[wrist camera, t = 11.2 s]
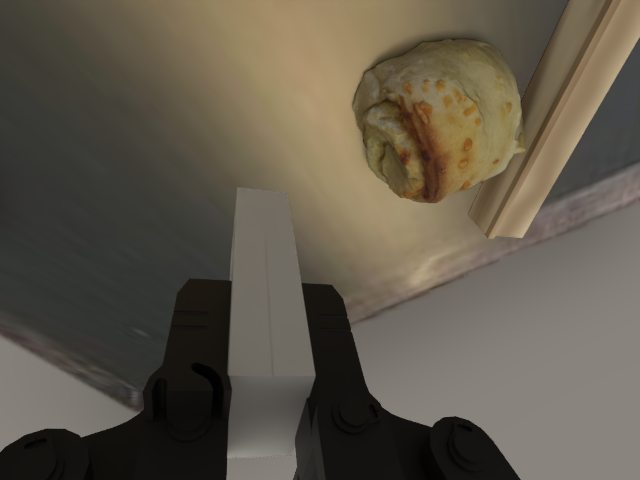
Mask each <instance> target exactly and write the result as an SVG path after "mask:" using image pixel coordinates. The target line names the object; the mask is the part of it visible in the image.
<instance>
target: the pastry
mask: <svg viewBox="0 0 640 480" xmlns="http://www.w3.org/2000/svg"><path fill="white" fill-rule="evenodd" d="M353 111H354V112H355V114H356V118H357V125H358V128H359V129H360V131H361V132H362V133H363V134H364V135H363V137H364V139H363V142H364V144H365V146H366V148H367V162H368V166H369V168H370V169H371V170H372V171H373V172H374V174H375V175H376V176H377V177H378V178H380V179H381V180H382V181H384V182H385V183H387V184H388V185H389V188H390V189H391V190H392V191H393V192H394V193H395V194H397V195H398V196H399V197H400V198H407V199H411V200H413V201H416V202H421V203H437V202H439V201H441V200H442V199H443V198H445V197H446V196H449V195H451V194H452V193H456V192H459V191H465V190H467V189H468V188H470V187H472V186H474V185H476V184H479V183H482V182H483V181H485V180H487V179H489V178H491V177H493V176H496V175H497V174H499V173H501V172H502V171H504V170H505V169H506V167H507V165H508V163H509V161H510V159H511V158H512V157H513V154H521V153H523V152H525V151H526V148H525V134H524V130H523V117H522V109H521V101H520V95H519V92H518V89H517V84H516V80H515V77H514V74H513V72H512V71H511V69H510V67H509V66H508V64H507V62H506V61H505V59H504V58H503V57H502V55H501V54H500V53H499V51H497V50H496V49H494V48H493V47H492V46H490V45H489V44H486V43H484V42H481V41H475V40H469V39H457V40H454V41H453V40H451V39H446V40H443V41H437V42H422V43H421V44H420V45H418V46H417V47H416V48H414V49H413V50H411V51H410V52H408V53H407V54H405V55H403V56H400V57H396V58H392V59H388V60H386V61H384V62H382V63H380V64H378V65H377V66H376V67H375V68H374V69H371V70H368V71H367V72H365V74H364V77H363V79H362V82H360V84H359V85H358V88H357V91H356V93H355V101H354V105H353Z"/></svg>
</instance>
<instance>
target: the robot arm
mask: <svg viewBox="0 0 640 480" xmlns="http://www.w3.org/2000/svg"><path fill="white" fill-rule="evenodd" d="M143 399H144V410H143V411H141V412H140V413H139V414H138V415H137V416H135V417H134V418H132V419H131V420H129V421H127V422H125V423H123V424H120V425H118V426H116V427H113V428H110V429H107V430H103V431H100V432H97V433H94V434H91V435H88V436H85V437H82V438H81V437H80V436H79V435H78V434H75V433H73V432H71V431H68V430H66V429H44V430H40V431H37V432H34V433H31V434H27V435H25V436H23V437H21V438H20V439H18V440H17V441H15V442H13V443H11V444H10V445H8V446H6V447H5V448H4V449H3V450H2V451H1V452H0V480H226V475H227V458H246V457H266V456H267V457H268V456H288V455H289V456H290V455H292V452H293V449H294V446H295V448H296V458H297V469H296V472H295V475H294V478H293V480H520V478H519V477H518V475H517V474H516V473H515V471H514V470H513V469H512V467H511V466H510V464H509V463H508V461H507V460H506V459H505V457H504V456H503V454H502V453H501V452H500V450H499V449H498V447H497V446H496V445H495V444H494V442H493V441H492V439H491V438H490V437H489V436H488V435H487V434H486V433H485V432H484V431H483V430H482V429H481V428H480V427H478V426H477V425H475V424H473V423H472V422H471V421H469V420H466V419H462V418H459V417H456V416H455V417H444V418H442V419H441V420H439V421H437V422H436V423H435V424H434V425H433V427H429V426H426V425H423V424H419V423H416V422H413V421H409V420H406V419H403V418H400V417H398V416H395V415H393V414H391V413H390V412H388V411H387V410H385V409H384V408H382V406H381V404H380V403H379V402H378V401H377V400H376V399H375V398H374V397H373V396H372V395H371V394H370V393H369V391H368V388H367V386H366V383H365V380H364V376H363V372H362V369H361V365H360V361H359V357H358V353H357V350H356V346H355V342H354V338H353V335H352V332H351V327H350V323H349V320H348V319H347V312H346V308H345V305H344V301H343V298H342V297H341V296H340V295H339V293H338V292H337V291H336V290H335V288H334V287H333V286H332V285H326V284H307V283H301V278H300V272H299V265H298V259H297V253H296V246H295V240H294V233H293V227H292V220H291V214H290V207H289V201H288V194H287V193H286V192H276V191H267V190H257V189H247V188H238V187H237V198H236V209H235V220H234V231H233V242H232V253H231V267H230V281H226V280H207V279H189V280H188V281H187V282H186V284H185V285H184V286H183V287H182V288H181V289H180V291H179V292H178V293H177V298H176V303H175V307H174V314H173V317H172V322H171V329H170V332H169V337H168V341H167V346H166V351H165V356H164V361H163V365H162V366H161V367H160V368H159V369H158V370H157V371H156V372H154V373H153V374H152V375H151V376H150V377H149V379H148V382H147V384H146V386H145V388H144V390H143Z"/></svg>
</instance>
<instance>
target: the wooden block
mask: <svg viewBox="0 0 640 480" xmlns="http://www.w3.org/2000/svg"><path fill="white" fill-rule="evenodd" d="M639 37H640V0H569V1H568V3H567V6H566V8H565V10H564V12H563V14H562V16H561V18H560V20H559V23H558V25H557V27H556V29H555V31H554V33H553V35H552V37H551V40H550V42H549V44H548V46H547V48H546V50H545V52H544V54H543V56H542V59H541V61H540V63H539V65H538V67H537V69H536V71H535V73H534V76H533V78H532V80H531V82H530V84H529V86H528V88H527V90H526V93H525V95H524V97H523V99H522V101H521V109H522V117H523V130H524V134H525V148H526V151H525V152H523V153H521V154H513V157H512V158H511V159H510V161H509V163H508V165H507V167H506V169H505V170H504V171H502V172H501V173H499V174H497V175H496V176H493V177H491V178H489V179H487V180H485V181H484V182H483V184H482V186H481V188H480V190H479V192H478V194H477V196H476V198H475V201H474V203H473V205H472V207H471V209H470V211H469V213H468V215H469V216H470V217H471V218H472V220H473V221H474V222H475V223H476V224H477V226H478V227H479V228H480V229H481V231H482V232H483V233H484V234H485V235H486V237H487V238H490V239H494V237H495V236H506V237H517V238H522V237H523V236H524V234H525V232H526V231H527V229H528V227H529V225H530V224H531V222H532V220H533V219H534V217H535V215H536V213H537V212H538V210H539V208H540V207H541V205H542V203H543V201H544V200H545V198H546V196H547V195H548V193H549V191H550V189H551V188H552V186H553V184H554V183H555V181H556V179H557V177H558V176H559V174H560V172H561V171H562V169H563V167H564V165H565V164H566V162H567V160H568V159H569V157H570V155H571V153H572V152H573V150H574V148H575V147H576V145H577V143H578V141H579V140H580V138H581V136H582V135H583V133H584V131H585V129H586V128H587V126H588V124H589V123H590V121H591V119H592V117H593V116H594V114H595V112H596V111H597V109H598V107H599V105H600V104H601V102H602V100H603V99H604V97H605V95H606V93H607V92H608V90H609V88H610V87H611V85H612V83H613V81H614V80H615V78H616V76H617V75H618V73H619V71H620V69H621V68H622V66H623V64H624V63H625V61H626V59H627V57H628V56H629V54H630V52H631V51H632V49H633V47H634V45H635V44H636V42H637V40H638V39H639Z"/></svg>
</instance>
